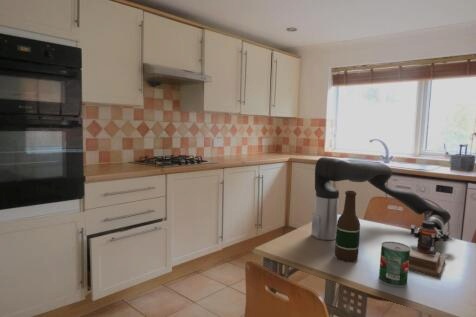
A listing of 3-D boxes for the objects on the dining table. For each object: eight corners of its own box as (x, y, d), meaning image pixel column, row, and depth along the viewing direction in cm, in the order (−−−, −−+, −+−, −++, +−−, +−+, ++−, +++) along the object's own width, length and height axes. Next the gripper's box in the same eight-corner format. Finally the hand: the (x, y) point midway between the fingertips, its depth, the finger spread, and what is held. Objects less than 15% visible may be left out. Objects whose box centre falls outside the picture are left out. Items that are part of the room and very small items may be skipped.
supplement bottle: (437, 254, 123) (440, 225, 122) (419, 253, 124) (422, 223, 123) (431, 249, 129) (434, 220, 128) (414, 247, 130) (417, 219, 129)
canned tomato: (374, 274, 105) (377, 240, 104) (399, 275, 104) (402, 241, 103) (384, 286, 97) (388, 250, 96) (412, 287, 97) (415, 251, 95)
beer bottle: (357, 255, 119) (362, 190, 117) (357, 264, 112) (363, 194, 110) (335, 252, 122) (339, 188, 119) (334, 260, 115) (338, 192, 112)
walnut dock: (439, 277, 104) (440, 265, 103) (391, 265, 112) (392, 253, 112) (444, 262, 116) (445, 251, 116) (401, 251, 125) (402, 241, 124)
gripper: (414, 215, 141) (406, 223, 128) (453, 222, 133) (449, 232, 119) (412, 232, 142) (404, 242, 129) (452, 240, 133) (447, 252, 120)
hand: (426, 237), depth 124 cm, fingers closed on supplement bottle, 6 cm apart
